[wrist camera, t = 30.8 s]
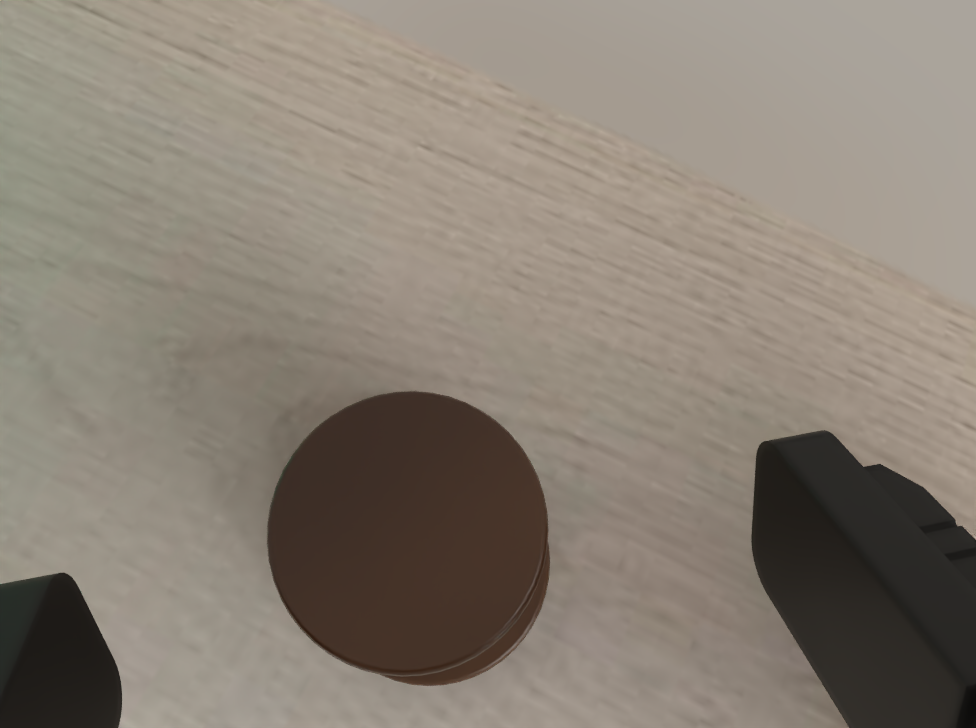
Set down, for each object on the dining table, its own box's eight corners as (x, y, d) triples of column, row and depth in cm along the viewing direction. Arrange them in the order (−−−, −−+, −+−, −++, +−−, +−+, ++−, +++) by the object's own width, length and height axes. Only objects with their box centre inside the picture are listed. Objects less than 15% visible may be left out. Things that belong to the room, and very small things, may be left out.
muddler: (583, 566, 18) (719, 534, 8) (428, 725, 17) (392, 882, 7) (440, 417, 18) (421, 237, 9) (284, 560, 17) (89, 520, 8)
